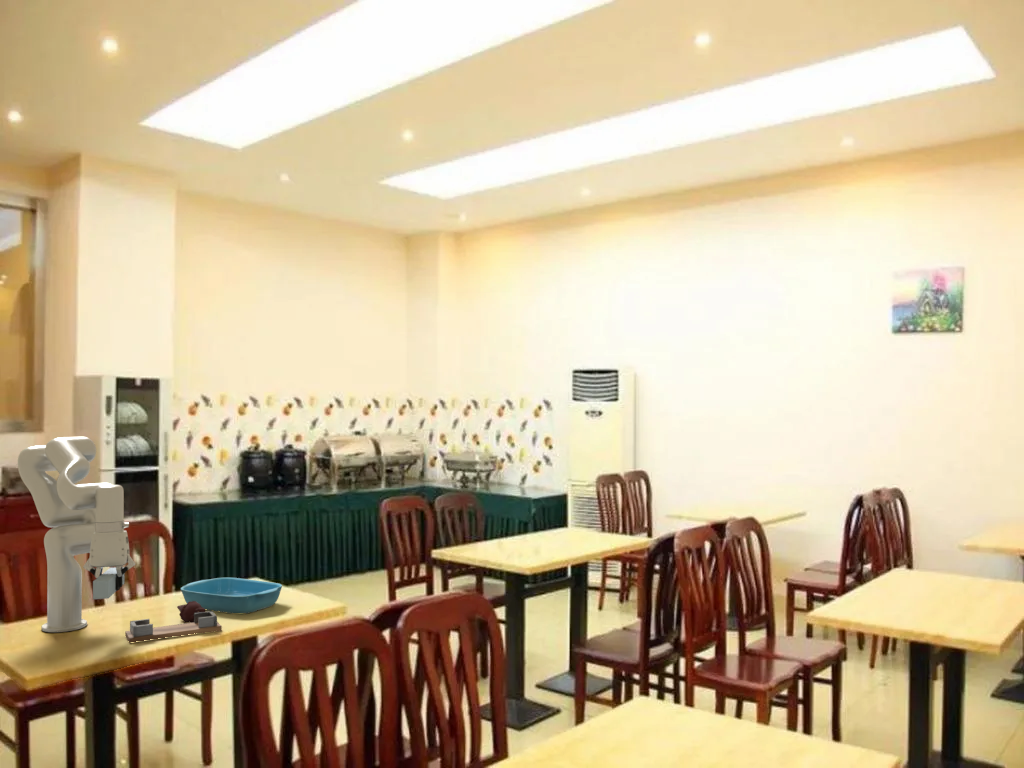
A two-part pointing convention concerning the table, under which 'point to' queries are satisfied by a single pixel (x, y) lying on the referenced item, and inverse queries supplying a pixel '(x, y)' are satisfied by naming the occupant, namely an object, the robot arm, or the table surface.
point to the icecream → (190, 611)
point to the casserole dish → (232, 594)
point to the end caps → (146, 628)
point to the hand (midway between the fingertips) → (109, 589)
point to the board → (173, 631)
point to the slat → (105, 584)
